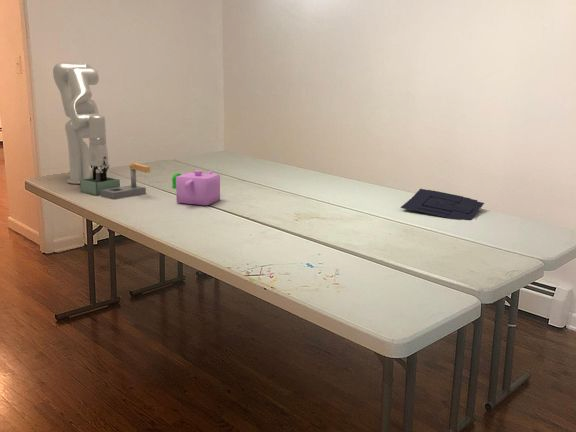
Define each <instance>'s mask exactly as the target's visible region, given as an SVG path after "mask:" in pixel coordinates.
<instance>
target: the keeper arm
mask: <svg viewBox="0 0 576 432" xmlns="http://www.w3.org/2000/svg"><path fill="white" fill-rule="evenodd" d="M129 169H130V170H131V169H135V170H136V171H138V172H142V173H151V167H150V166H148V165H144V164H140V163H137V162H129Z"/></svg>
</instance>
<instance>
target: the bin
mask: <svg viewBox="0 0 576 432" xmlns="http://www.w3.org/2000/svg"><path fill="white" fill-rule="evenodd" d="M120 181H121V180H120V179H119V178H118V179H117V178H113V177H109V176H107V180H106V181H104V182H98V183H96V180H93V177H90V178H88V179H81V180H80V184H79V185H80V193H83V194H86V195H91V196H97V197H99V196H101V190H103V189H110V188H116V187H121V182H120Z"/></svg>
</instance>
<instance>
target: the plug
mask: <svg viewBox="0 0 576 432" xmlns="http://www.w3.org/2000/svg"><path fill="white" fill-rule="evenodd" d="M100 173H101V171H100V168H98V169H96V183H98V182H104V181H100Z"/></svg>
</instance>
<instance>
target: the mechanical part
mask: <svg viewBox="0 0 576 432" xmlns="http://www.w3.org/2000/svg"><path fill="white" fill-rule="evenodd" d="M180 175H182V173H174V174H173V175H172V178H171V179H172V189H175V190H176V177H177V176H180Z"/></svg>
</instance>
